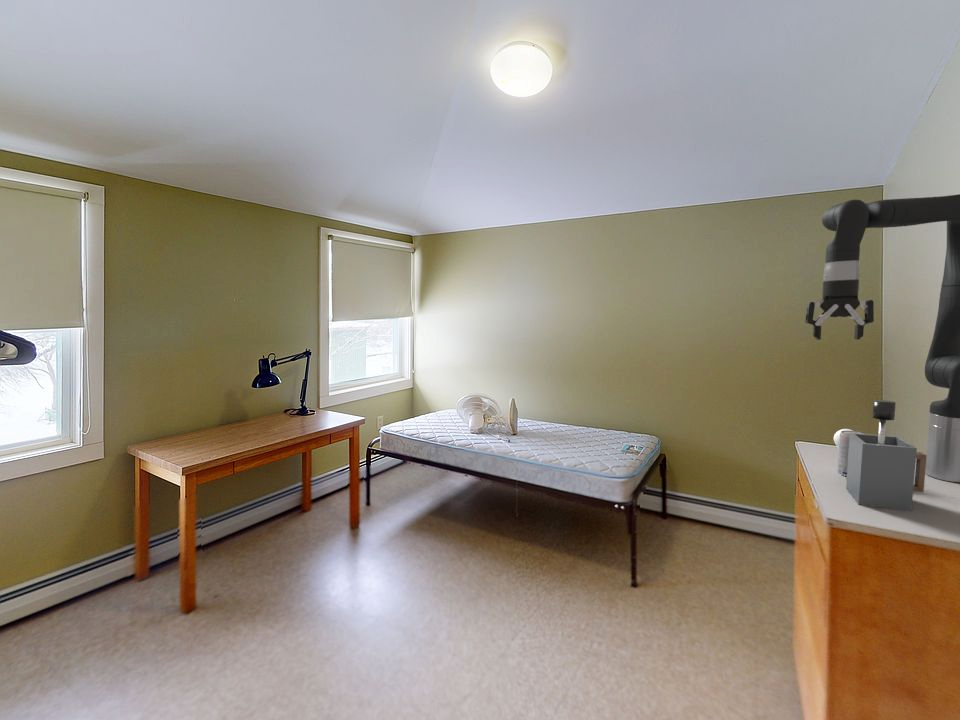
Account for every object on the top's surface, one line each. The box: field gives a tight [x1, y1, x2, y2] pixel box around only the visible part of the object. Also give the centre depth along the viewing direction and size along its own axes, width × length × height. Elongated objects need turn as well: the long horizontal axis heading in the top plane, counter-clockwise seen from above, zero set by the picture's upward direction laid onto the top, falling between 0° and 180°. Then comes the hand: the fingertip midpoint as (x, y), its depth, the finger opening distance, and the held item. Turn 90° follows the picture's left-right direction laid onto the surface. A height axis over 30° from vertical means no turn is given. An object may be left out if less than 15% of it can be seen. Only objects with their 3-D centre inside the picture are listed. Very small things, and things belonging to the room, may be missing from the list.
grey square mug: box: [845, 433, 927, 512], centre depth 107 cm, size 13×10×15 cm
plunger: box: [871, 399, 896, 445], centre depth 107 cm, size 7×7×21 cm
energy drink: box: [837, 430, 864, 477], centre depth 123 cm, size 5×5×12 cm
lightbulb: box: [833, 428, 854, 451], centre depth 130 cm, size 6×6×11 cm
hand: (837, 339), depth 120 cm, fingers open, 8 cm apart
